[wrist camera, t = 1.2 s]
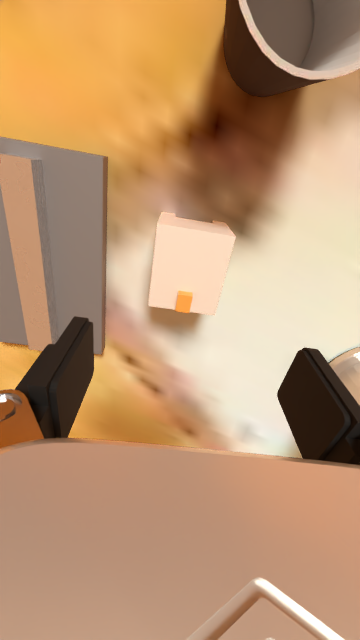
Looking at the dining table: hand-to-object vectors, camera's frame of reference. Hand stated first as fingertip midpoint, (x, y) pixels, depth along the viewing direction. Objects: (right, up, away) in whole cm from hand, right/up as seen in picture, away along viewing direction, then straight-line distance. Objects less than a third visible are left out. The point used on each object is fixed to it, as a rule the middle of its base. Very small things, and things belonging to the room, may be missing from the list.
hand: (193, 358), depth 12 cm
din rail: (-14, +7, +13) cm, 21 cm away
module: (0, +8, +14) cm, 16 cm away
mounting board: (-14, +8, +14) cm, 22 cm away
